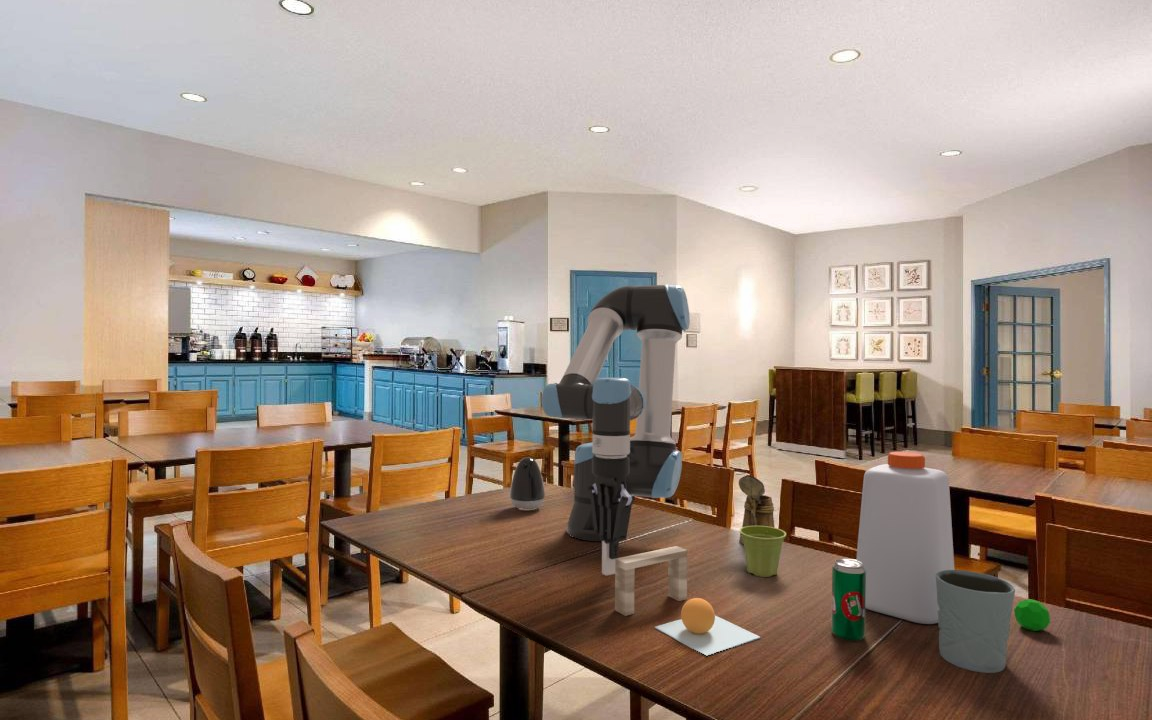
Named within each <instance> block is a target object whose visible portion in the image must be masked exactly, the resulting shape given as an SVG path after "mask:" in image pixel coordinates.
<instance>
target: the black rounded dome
mask: <svg viewBox="0 0 1152 720" xmlns="http://www.w3.org/2000/svg"><path fill="white" fill-rule="evenodd" d="M542 475H543V474H542V472H541V468H540V467H539V464H538V463H537V461H536V460H535V459H534V458H532V457H523V458H521V459H520V460H519V461H518V463H517V464H516V467H515V470H514V473H513V476H512V480H511V484H510V485H511V486H510V489H509V491H510V492H509V498H510V501H511V504H512V506H513V505H514V506H515V507H518V508H523V509H534V508H538V507H539V508H541V506H542V504H543V503H544V498H545V497H546V491H545V484H544V483H545V482H544V480H543V476H542ZM515 507H514V508H515ZM539 508H538V509H539Z"/></svg>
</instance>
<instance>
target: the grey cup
mask: <svg viewBox="0 0 1152 720" xmlns="http://www.w3.org/2000/svg"><path fill="white" fill-rule="evenodd" d="M936 587H937V603H938V606H939V610H938V623H937V624H938V628H939V631H938V635H939V636H938V643H939V644H938V645H939V646H938V647H939V649H938V651H939V654H940V656H941V658H942V659H944V660H945V661H946V662H947V663H949V664H951V665H953V666H956V667H958V668H961V669H963V670H968V671H970V672H971V671H972V672H978V673H983V674H984V673H985V674H995V673H999V672H1002V671H1004V670H1005V668H1006V663H1007V653H1008V642H1007V641H1008V640H1009V637H1010V630H1011V629H1010V627H1011V624H1010V623H1011V619H1012V612H1013V605H1014V601H1015V593H1016V588H1015V586H1014V585H1013V584H1012V583H1010V582H1008V581H1006V580H1004V579H1002V578H999V577H996V576H994V575H990V574H986V573H982V572H977V571H969V570H963V569H962V570H960V569H954V570H944V571H940V572H938V573H937V574H936Z"/></svg>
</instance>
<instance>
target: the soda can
mask: <svg viewBox="0 0 1152 720" xmlns="http://www.w3.org/2000/svg"><path fill="white" fill-rule="evenodd" d="M863 566H864V565H863V563H861V562H859V561H856V559H852V558H837V559H835V560H834V564H833V565H832V566H831V568H832V569H831V570H832V572H831V623H830V626H831V628H830V629H831V632H832V633H833V635H834V636H835V637H836V638H838V639H841V640H843V641H849V642H859V641H862V639H864V638H865V637H866V608H865V601H866V571H865V569H864V567H863Z"/></svg>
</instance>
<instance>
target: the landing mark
mask: <svg viewBox="0 0 1152 720" xmlns="http://www.w3.org/2000/svg"><path fill="white" fill-rule="evenodd" d="M654 629H656V630H658V631H659V632H661V633H662V634H665V635H667V636H669V637H671V638H672V639H674V640H675V641H678V642H680V643H681V644H683V645H684V646H686V647H688V648H690V649H692V650H693V649H694V650H693V651H695V650H696V651H695V652H697V651H698V652H697V653H699V652H700V653H699V654H701V653H702V654H704V655H706V656H708V655H711V654H713V655H715V654H714V653H716V652H719V653H721V652H720V651H722V652H724V651H723V650H725V651H727V650H726V649H728V650H730V649H729V648H731V649H734V648H735V646H736V647H739V646H742V645H745V644H748V643H750V642H753V641H756V640H758V639H761V636H759V635H757V634H755V633H753V632H751V631H750V630H747V629H744V628H743V627H740V626H739V625H736V624H734V623H732V622H730V621H728V620H726V619H724V618H722V617H719V616H718V615H715V621H714V624H713V626H712V628H711V629H710V630H709V631H707V632H706V633H703V634H696V633H693V632H691V631H689V630H688V629H687V628H686V627H685V626H684V624H683V622H682V619H681V618H680V619H678V620H677V619H676V620H674V621H669V622H667V623H663V624H659V625H656V626H654ZM744 643H745V644H744ZM741 644H742V645H741ZM733 647H734V648H733ZM702 654H701V655H702ZM716 654H717V653H716ZM704 655H703V656H704ZM706 656H705V657H706ZM711 656H712V655H711ZM708 657H709V656H708Z"/></svg>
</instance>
